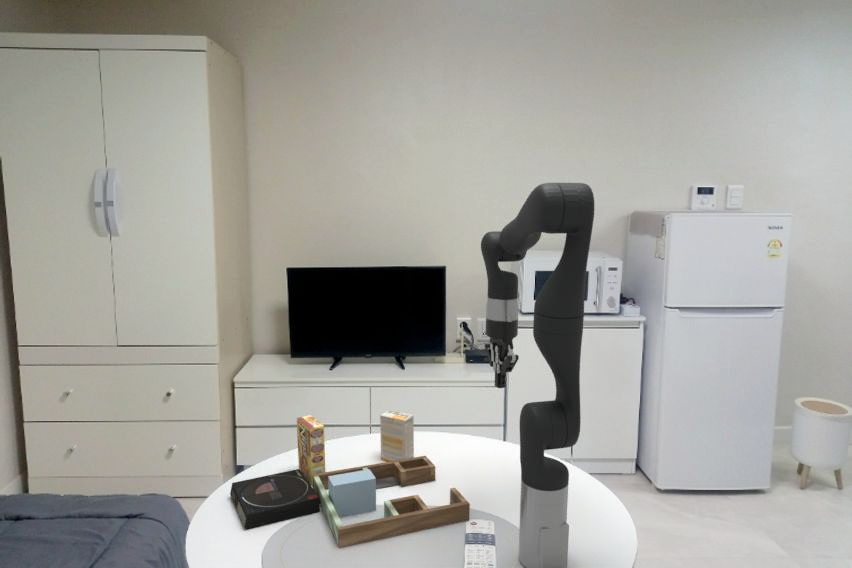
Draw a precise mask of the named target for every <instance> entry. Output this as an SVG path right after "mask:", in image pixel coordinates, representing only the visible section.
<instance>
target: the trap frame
mask: <svg viewBox="0 0 852 568" xmlns="http://www.w3.org/2000/svg"><path fill="white" fill-rule="evenodd" d="M368 469H370V471H371V472H372V474H373V475H374V476H375V478H376V490H380V489H385V488H392V487H395V486H396V487H397V486H399V487H400V488H405V487H410V486H415V485H421V484H425V483H426V484H427V483H431V482H436V466H435V464H434V463H433V462H432V461H431V460H430V459H429V458H428V457H427V455H421V456H414V458H408V459H402V460H396V461H390V462H388V461H384V462H379V463H373V464H367V465H362V466H355V467H349V468H343V469H338V470H332V471H327V472H326V471H325V473H319V474H313V486H312V488H313V489H314V491H315V492H316V493H317V495H318V496H319V498H320V510H322V513H323V515H324V516H325V520H326V521H327V524H328V526H329V529H330V530H331V533H332V534H333V536H334V539H335V541H336V543H337V546H338V548H339V549H340V548H344V547H345V548H346V547H349V546H353V545H359V544H364V543H368V542H373V541H378V540H382V539H383V540H384V539H386V538H387V539H388V538H390V537H397V536H401V535H405V534H410V533H415V532H419V531H424V530H428V529H433V528H438V527H443V526H447V525H451V524H456V523H462V522H467V521H469V520H470V510H471V508H470V507H471V505H470V502H469V501H468V500H467V499H466V498H465V496H463V495H462V493H461V492H459V490H458V489H457V488H456V487H451V488H450V489H449V490H450V491H449V504H445V505H440V506H435V507H431V508H429V507H428V506H427V504H426V503H425V502H424V500H423V498H421V497H420V495H419V494H413V495H408V496H404V497H397V498H393V499H388V500H384V501H383V517H381V518H376V519H375V518H374V519H372V520H367V521H361V522H356V523H351V524H345V525H343V523H342V521H341V519H340V518H341V517H340V518H339V516H338V514H337V512H336V510H335V508H334V506H333V504H332V502H331V500H330V498H329V496H328V492H327V491H328V476H333V475H339V474H345V473H350V472H356V471H362V470H368ZM326 490H327V491H326ZM466 520H467V521H466Z"/></svg>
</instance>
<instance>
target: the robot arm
mask: <svg viewBox="0 0 852 568" xmlns="http://www.w3.org/2000/svg"><path fill="white" fill-rule="evenodd" d="M594 220H595V197H594V193H593V189H592V188H591V186H590V185H589V184H587V183H584V182H544V183H541V184H539V185H537V186H536V187H534V189H533V190H531V191H530V194H529V195H528V196H527V198H526V200H525V201H524V203H523V205H522V206H521V208H520V210H519V211H518V214H517V215H516V216H515V218H514V219H511V221H510V222H509V223H507V224H506V225H505V226H504V227H503V228H502V230H500V231H495V230H494V231H488V232H486V233H485V234H484V235H483V237H482V238H481V242H480V251H481V255H482V258H483V262H484V266H485V271H486V278H487V298H486V299H487V300H486V304H485V305H486V306H485V335H486V337H489V343H485V344H484V349H485V352H486V356H487V359H488V363H489V366H490V367H492V368H493V372H494V387H496V388H497V389H504V388H506V383H507V382H506V381H507V374H508V373H511V372H512V371H513V370H514V368H515V366H516V365H517V362H518V361H519V355H518V354H515V353H514V344H513V343H514V342H513V340H514V339H515V338H516V337H518V334H519V332H518V331H519V329H518V328H519V302H518V301H519V298H518V295H519V277H518V275H517V274H516V273H515V272H512V271H508V270H502V269H501V267H500V266H499V263H503V262H504V263H508V262H514V263H515V262H520V261H522V260H524V259H525V257H526V255H527V252H528V250H529V249H531V248H533V247H535V246H536V244H537V243H538V242H539V240H540V239H541V237H542V233H544V234H551V235H552V234H553V235H554V234H566V236H565V241H564V246H563V250H562V254H561V257H560V259H559V262H558V263H557V265H556V267H555V268H554V270H553V271H552V273H551V275H550V276H549V277H548V278H547V280H546V281H545V283H544V284H543V286H542V288H541V289H540V291H539V293H538V294H537V296H536V298H535V302H534V305H533V307H534V308H533V327H532V335H533V339H534V341H535V344H536V347H537V348H538V350H539V353H540V354H541V355H542V357H543V358H544V360H545V361H546V363H547V364H548V367H549V368H550V370H551V372H552V375H553V377H554V381H555V390H556V391H555V399H554V400H544V401H533V402H527V403H525V404H523V405H522V407H521V411H520V414H519V458H520V459H519V460H520V471H521V472H520V476H521V477H520V481H521V482H520V498H519V499H520V504H519V527H518V528H519V532H518V533H519V535H518V561H519V563H520V564H521V565H522V566H523V567H525V568H568V557H569V535H570V525H569V523H568V522H567V521H568V499H569V498H568V497H569V481H570V479H569V477H570V473H569V469H568V466H566V464H564V463H563V462H561V461H560V460H557V459H555V458H553V457H549V456H545V451H548V450H558V449H559V450H560V449H565V448H571V447H573V446H575V445H576V444H577V443H578V441H579V436H580V434H581V433H580V432H581V390H580V389H581V387H580V386H581V385H580V384H581V383H580V382H581V380H580V379H581V378H580V375H581V372H580V371H581V357H582V356H581V355H582V354H581V353H582V342H583V332H584V319H585V315H584V314H585V294H586V293H585V291H586V280H587V279H586V278H587V267H588V261H589V260H588V259H589V253H590V246H591V241H592V233H593V228H594V227H593V226H594Z"/></svg>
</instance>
